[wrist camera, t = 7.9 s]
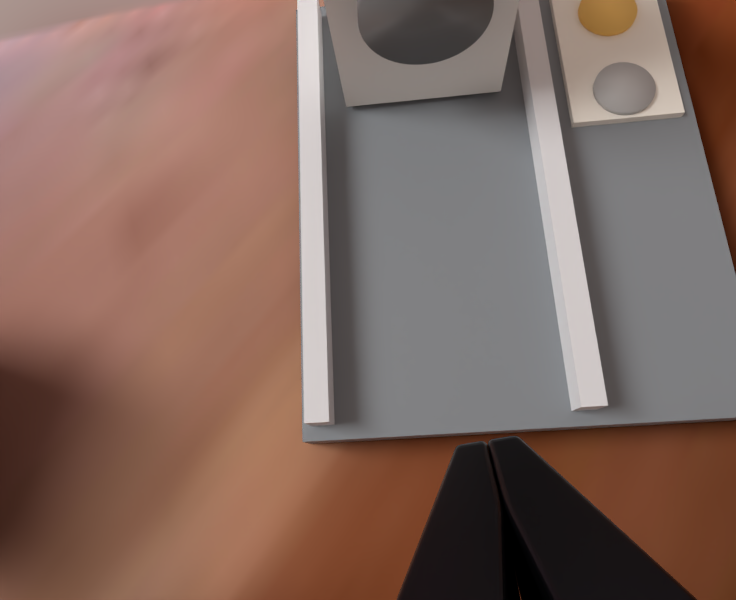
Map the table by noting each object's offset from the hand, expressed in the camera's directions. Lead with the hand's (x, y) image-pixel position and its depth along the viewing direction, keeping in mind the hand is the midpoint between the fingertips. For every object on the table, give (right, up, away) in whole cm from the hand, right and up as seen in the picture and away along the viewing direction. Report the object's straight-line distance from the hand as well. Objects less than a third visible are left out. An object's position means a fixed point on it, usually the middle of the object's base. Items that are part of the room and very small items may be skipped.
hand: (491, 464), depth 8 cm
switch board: (+3, +6, +15) cm, 16 cm away
